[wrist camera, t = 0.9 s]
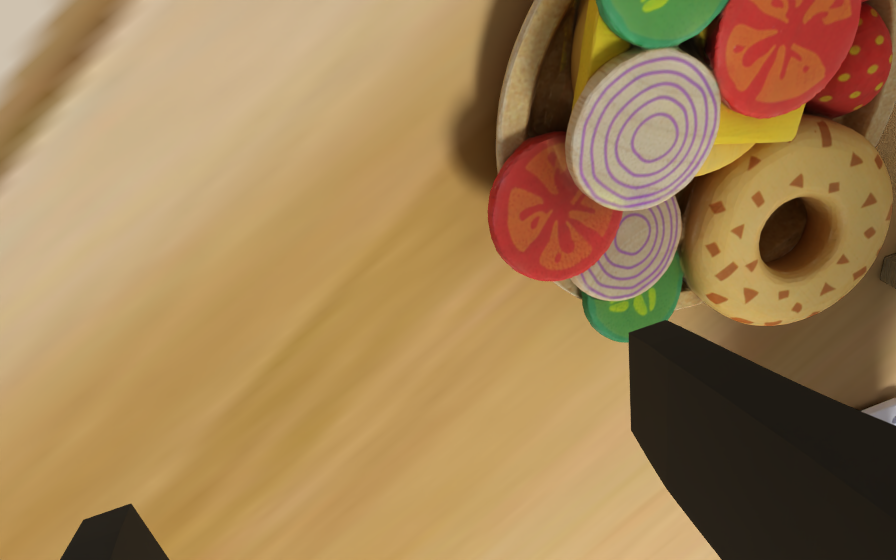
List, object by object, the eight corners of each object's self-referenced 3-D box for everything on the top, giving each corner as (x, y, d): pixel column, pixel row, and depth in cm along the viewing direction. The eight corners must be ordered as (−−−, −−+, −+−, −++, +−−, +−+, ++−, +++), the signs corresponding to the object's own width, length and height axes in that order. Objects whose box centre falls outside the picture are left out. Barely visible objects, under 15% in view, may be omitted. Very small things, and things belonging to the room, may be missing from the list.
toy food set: (794, 283, 25) (864, 332, 22) (455, 326, 21) (489, 390, 18) (946, -141, 18) (1074, -147, 15) (489, -185, 14) (551, -202, 12)
